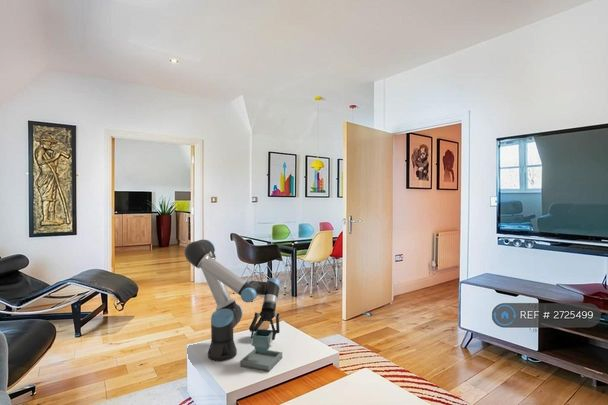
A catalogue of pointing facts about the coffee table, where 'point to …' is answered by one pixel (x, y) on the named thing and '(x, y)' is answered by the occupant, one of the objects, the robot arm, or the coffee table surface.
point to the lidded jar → (264, 326)
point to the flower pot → (261, 340)
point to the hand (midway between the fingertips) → (261, 345)
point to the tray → (261, 360)
